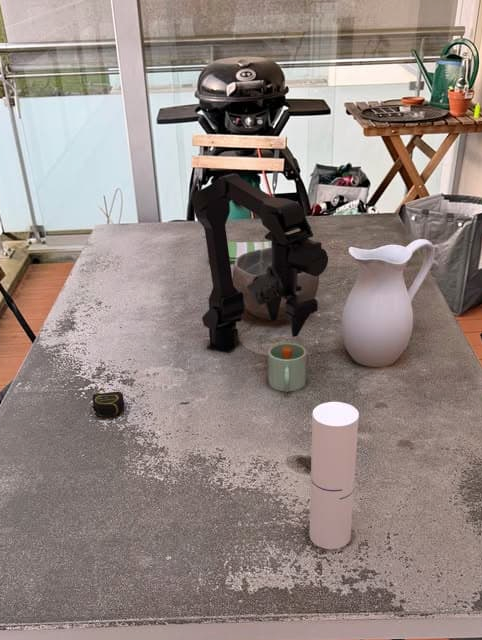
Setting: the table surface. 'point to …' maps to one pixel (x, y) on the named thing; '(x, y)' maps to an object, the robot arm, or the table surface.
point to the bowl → (257, 265)
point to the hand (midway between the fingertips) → (284, 328)
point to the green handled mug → (287, 368)
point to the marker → (286, 353)
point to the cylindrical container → (332, 473)
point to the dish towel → (244, 248)
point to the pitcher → (382, 303)
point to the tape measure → (108, 403)
